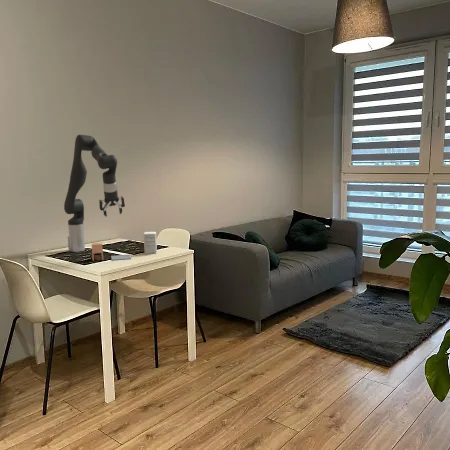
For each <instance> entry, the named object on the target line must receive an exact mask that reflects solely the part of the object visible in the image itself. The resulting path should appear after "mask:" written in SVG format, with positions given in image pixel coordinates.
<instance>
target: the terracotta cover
mask: <svg viewBox="0 0 450 450" xmlns="http://www.w3.org/2000/svg"><path fill="white" fill-rule="evenodd" d="M103 249H104V248H103V242H91V256H92V261H93V262H94V261H95V254H100V258H101V260H102V261H104V250H103Z"/></svg>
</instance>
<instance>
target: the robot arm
mask: <svg viewBox="0 0 450 450" xmlns="http://www.w3.org/2000/svg"><path fill="white" fill-rule="evenodd" d="M74 140H75V141H74V151H73V160H72V166H71V170H70V177H69V183H68V188H67V192H66V196H65V200H64V204H63V207H64V212H65V214H67V215H73V216H72V217H70V219H68V220H67V226H68V227H67V228H68V236H67V247H68V252H74V253H79V252H83V251H85V250H86V246H85V232H84V231H85V230H84V229H85V227H84V220H85V207H84V202H83V200H82V199H80V198H77V195H78V193H79V192H80V190H81V189H82V187H84V185H85V183H86V180H87V174H88V171H87V168H86V165H85V163H84V161H83V159H82V151H83V152H84V151H85V152H90V153H91V156H92V158H93V159H94V160H95V161H96V162H97V165H98V168H99V169H101V170H106V171H104V172H102V183H103V186H102V187H103V194H104V195H103V196H104V199H99V200H98V201H99V202H98V203H99V210H100V211H101V212H102V211H103V216H104V217H107V216H108V213H107V209H109V207H112V206H113V207H115V206H117V207H118V212H119V214H120V215H122V213H123V208H125V206H126V205H125V199H124V197H123V196H122V195H121V196H119V194H118V185H117V179H116V173H117V172H116V171H117V166H118V159H117V157H116V156H115V155H113V154H109V155H108V153H107V152H106V151H105V150H104V149H102V147H101V146H100V144H99V143H98V141H97V139H95V137H94V136H92V135H87V134H78V135H76V137H75V139H74ZM119 201H120V202H121V203H119ZM104 203H105V204H104ZM103 204H104V206H103Z"/></svg>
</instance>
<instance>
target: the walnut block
mask: <svg viewBox="0 0 450 450" xmlns="http://www.w3.org/2000/svg"><path fill="white" fill-rule="evenodd" d="M101 260H102V259H101V258H100V254H95V259H94V261H101Z"/></svg>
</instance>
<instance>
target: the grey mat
mask: <svg viewBox="0 0 450 450" xmlns="http://www.w3.org/2000/svg"><path fill="white" fill-rule="evenodd" d="M110 257H111V261H112V262H113V261H122V260H123V261H125V260H132V256H131V254H123V255H122V254H121V255H119V254H118V255H111V256H110Z"/></svg>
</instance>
